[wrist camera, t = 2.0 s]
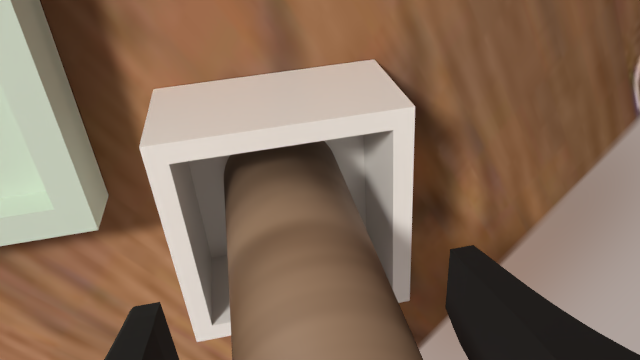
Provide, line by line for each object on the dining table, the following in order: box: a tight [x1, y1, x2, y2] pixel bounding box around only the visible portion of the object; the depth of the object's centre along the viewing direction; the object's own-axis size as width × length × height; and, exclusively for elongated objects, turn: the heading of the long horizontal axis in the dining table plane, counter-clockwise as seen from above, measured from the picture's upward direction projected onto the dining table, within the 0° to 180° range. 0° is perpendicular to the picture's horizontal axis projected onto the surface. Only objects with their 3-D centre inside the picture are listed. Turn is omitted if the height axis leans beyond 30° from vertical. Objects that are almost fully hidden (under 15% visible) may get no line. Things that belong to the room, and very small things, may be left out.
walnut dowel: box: [224, 141, 423, 360], centre depth 13 cm, size 4×4×11 cm
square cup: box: [139, 60, 415, 342], centre depth 17 cm, size 7×7×4 cm
